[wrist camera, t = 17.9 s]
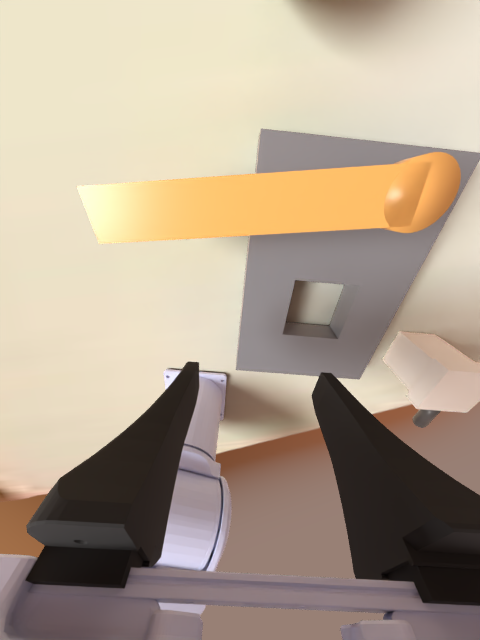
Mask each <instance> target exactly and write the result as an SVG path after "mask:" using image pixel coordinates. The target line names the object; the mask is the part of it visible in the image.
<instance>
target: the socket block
mask: <svg viewBox="0 0 480 640" xmlns="http://www.w3.org/2000/svg"><path fill="white" fill-rule="evenodd" d="M432 152H444V153H447V154H450V155H451V156H453V157H454V158H455V159H456V161H457V162H458V164H459V167H460V172H461V180H460V186H459V189H458V192H457V195H456V197H455V199H454V201H453V202H452V204H451V205H450V207H449V208H448V210H447V211H446V212H445V213H444V214H443V215H442V216H441V217H440V218H439V219H438V220H437V221H436V222H434V223H433V224H432V225H430V226H428V227H427V228H425V229H423V230H420V231H417V232H413V233H400V232H395V231H390V230H385V229H381V228H371V229H353V230H335V231H318V232H300V233H282V234H265V235H249V239H248V248H247V258H246V268H245V278H244V288H243V298H242V308H241V317H240V327H239V337H238V347H237V359H236V370H244V371H257V372H270V373H283V374H296V375H309V376H320V374H321V372H326V373H332V374H333V375H334V376H335V377H336V378H348V379H360V377H361V376H362V374H363V372H364V370H365V368H366V366H367V365H368V363H369V361H370V359H371V357H372V356H373V354H374V352H375V350H376V348H377V346H378V345H379V343H380V341H381V339H382V337H383V335H384V334H385V332H386V330H387V328H388V326H389V324H390V323H391V321H392V319H393V317H394V315H395V313H396V312H397V310H398V308H399V306H400V304H401V303H402V301H403V299H404V297H405V295H406V293H407V292H408V290H409V288H410V286H411V284H412V282H413V281H414V279H415V277H416V275H417V273H418V271H419V270H420V268H421V266H422V264H423V262H424V260H425V259H426V257H427V255H428V253H429V251H430V249H431V248H432V246H433V244H434V242H435V240H436V239H437V237H438V235H439V233H440V231H441V229H442V228H443V226H444V224H445V222H446V220H447V218H448V217H449V215H450V213H451V211H452V209H453V207H454V206H455V204H456V202H457V200H458V198H459V196H460V195H461V193H462V191H463V189H464V187H465V185H466V184H467V182H468V180H469V178H470V176H471V175H472V173H473V171H474V169H475V167H476V165H477V164H478V162H479V160H480V153H476V152H467V151H458V150H449V149H440V148H431V147H422V146H413V145H404V144H395V143H386V142H377V141H368V140H359V139H350V138H341V137H332V136H323V135H314V134H305V133H296V132H287V131H278V130H269V129H261V131H260V135H259V140H258V150H257V160H256V170H255V174H259V173H274V172H288V171H302V170H317V169H331V168H345V167H360V166H374V165H388V164H394V163H396V162H399V161H401V160H404V159H408V158H412V157H416V156H420V155H424V154H428V153H432ZM295 280H300V281H311V282H322V283H333V284H344V287H343V290H342V292H341V295H340V298H339V300H338V303H337V306H336V309H335V311H334V314H333V317H332V319H331V322H330V325H329V326H327V325H315V324H303V323H291V322H286V317H287V313H288V309H289V305H290V300H291V296H292V292H293V288H294V283H295Z"/></svg>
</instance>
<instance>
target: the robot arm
mask: <svg viewBox="0 0 480 640" xmlns="http://www.w3.org/2000/svg"><path fill="white" fill-rule="evenodd" d="M164 379H165V386H166V390H165V392H164V393H163V394H162V395H161V396H160V397H159V398H158V399H157V400H156V401H155V403H154V404H153V405H152V406H151V407H150V408H149V409H148V410H147V411H146V412H145V413H144V414H143V415H141V416H140V417H139V418H138V419H137V420H136V421H135V422H134V423H133V424H132V425H130V426H129V427H128V428H127V429H126V430H125V431H124V432H122V433H121V434H120V435H119V436H117V437H116V438H115V439H114V440H112V441H111V442H110V443H108V444H107V445H106V446H105V447H103V448H102V449H101V450H99V451H98V452H97V453H95V454H94V455H93V456H91V457H90V458H89V459H87V460H86V461H84V462H83V463H81V464H80V465H78V466H77V467H75V468H74V469H73V470H71V471H70V472H68V473H67V474H65V475H64V476H62V477H61V478H60V479H59V480H58V482H57V483H56V484H55V485H54V487H53V488H52V489H51V490H50V492H49V493H48V495H47V496H46V497H45V499H44V501H43V502H42V503H41V505H40V506H39V508H38V510H37V511H36V512H35V514H34V515H33V517H32V519H31V520H30V522H29V523H28V524H27V533H29V534H30V535H31V536H32V537H34V538H35V539H36V540H38V541H39V542H41V543H42V544H44V545H45V547H44V549H43V550H42V552H41V554H40V556H39V557H38V558H37V557H33V556H27V555H9V554H0V640H201V638H202V628H203V622H202V620H201V617H200V615H201V614H202V612H203V611H204V609H205V606H206V605H219V606H220V605H221V606H241V607H262V608H285V609H305V610H326V611H347V612H368V613H386V614H385V615H384V617H383V620H368V621H366V620H364V621H360V622H359V623H355V624H350V625H342V626H341V634H342V638H343V640H480V495H478V494H477V493H475V492H474V491H472V490H470V489H469V488H467V487H465V486H464V485H462V484H461V483H459V482H458V481H456V480H455V479H453V478H452V477H450V476H449V475H447V474H446V473H445V472H443V471H442V470H440V469H439V468H437V467H436V466H434V465H433V464H432V463H430V462H429V461H427V460H426V459H425V458H423V457H422V456H421V455H419V454H418V453H417V452H416V451H414V450H413V449H412V448H410V447H409V446H408V445H406V444H405V443H404V442H403V441H401V440H400V439H399V438H398V437H397V436H395V435H394V434H393V433H392V432H391V431H389V430H388V429H387V428H386V427H385V426H384V425H383V424H381V423H380V422H379V421H378V420H377V419H376V418H375V417H374V416H373V415H372V414H371V413H370V412H369V411H368V410H367V409H366V408H365V407H364V406H363V405H362V404H361V403H360V402H359V401H358V400H357V399H356V398H355V397H354V396H353V395H352V394H351V393H350V392H349V391H348V390H347V389H346V388H345V387H344V386H343V385H342V384H341V383H340V381H339V380H338V379H337V378H336V377H335V376H334V375H333V374H332V373H326V372H321V374H320V376H319V379H318V381H317V383H316V386H315V388H314V391H313V393H312V399H313V404H314V409H315V413H316V416H317V419H318V422H319V425H320V428H321V431H322V434H323V437H324V440H325V442H326V445H327V448H328V451H329V454H330V457H331V461H332V464H333V468H334V472H335V476H336V480H337V485H338V489H339V494H340V498H341V503H342V507H343V513H344V518H345V523H346V527H347V533H348V539H349V545H350V550H351V556H352V563H353V570H354V574H355V577H356V579H348V578H326V577H309V576H308V577H307V576H289V575H270V574H269V575H268V574H251V573H250V574H249V573H230V572H215V571H216V568H217V565H218V563H219V560H220V558H221V556H222V554H223V552H224V549H225V546H226V542H227V539H228V534H229V529H230V521H231V495H230V491H229V488H228V484H227V482H226V479H224V477H222V476H220V467H221V464H219V463H216V462H215V456H216V448H217V439H218V431H219V422H220V421H221V420H223V419H224V408H225V394H226V381H227V375H226V374H223V373H211V372H199V362H187V363H186V364H185V366H184V367H183V369H182V370H171V369H166V370H165V371H164Z"/></svg>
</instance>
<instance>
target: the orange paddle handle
mask: <svg viewBox="0 0 480 640" xmlns="http://www.w3.org/2000/svg"><path fill="white" fill-rule="evenodd" d="M460 180H461V172H460V167H459V164H458V162H457V161H456V159H455V158H454V157H453V156H451V155H450V154H447V153H444V152H432V153H428V154H424V155H420V156H416V157H412V158H408V159H404V160H401V161H399V162H396V163H394V164H388V165H374V166H360V167H345V168H331V169H317V170H302V171H288V172H274V173H259V174H245V175H231V176H216V177H202V178H188V179H173V180H159V181H144V182H130V183H116V184H101V185H87V186H77V189H78V191H79V194H80V196H81V199H82V201H83V204H84V207H85V209H86V212H87V214H88V217H89V219H90V222H91V225H92V227H93V230H94V232H95V235H96V237H97V240H98V243H99V244H105V243H123V242H141V241H158V240H176V239H194V238H212V237H229V236H247V235H265V234H282V233H300V232H318V231H335V230H353V229H371V228H381V229H385V230H390V231H395V232H400V233H413V232H417V231H420V230H423V229H425V228H427V227H428V226H430V225H432V224H433V223H434V222H436V221H437V220H438V219H439V218H440V217H441V216H442V215H443V214H444V213H445V212H446V211H447V210H448V208H449V207H450V205H451V204H452V202H453V201H454V199H455V197H456V195H457V192H458V189H459V186H460Z"/></svg>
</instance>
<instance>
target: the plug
mask: <svg viewBox="0 0 480 640" xmlns="http://www.w3.org/2000/svg"><path fill="white" fill-rule="evenodd" d="M382 360H383V361H384V362H385V364H386V365H387V366H388V367H389V368H390V369H391V370H392V372H393V373H394V374H395V375H396V376H397V377H398V378H399V380H400V381H401V382H402V383H403V384H404V385H405V387H406V388H407V389H408V390H409V392H408V393H407V395H406V397H407V398H408V399H409V400H410V402H411V403H412V404H413V405H414V406H415V408H416V409H420V410H419V411H418V412H417V413H416V414H415V416H414V417H413V422H414V424H415V425H416V426H418V427H421V428H423V427H426V426H427V425H428V424H429V423H430V422H431V421H432V420H433V419H434V418H435V417H436V415H438V414H439V413H440V411H450V412H464V413H467V412H468V411H470V410H471V409H472V408H473V407H474V406H475V405H476V404H477V403H478V402H479V401H480V362H474V361H473V360H472V359H470V358H469V357H467V356H466V355H464V354H463V353H462V352H460V351H459V350H457V349H456V348H454V347H453V346H451V345H450V344H449V343H447V342H446V341H444V340H443V339H441V338H440V337H439V336H437V335H436V334H425V333H414V332H402V331H399V332H398V334H397V336H396V337H395V339H394V341H393V342H392V344H391V346H390V348H389V349H388V351H387V353H386V354H385V356H384V358H383V359H382Z"/></svg>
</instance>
